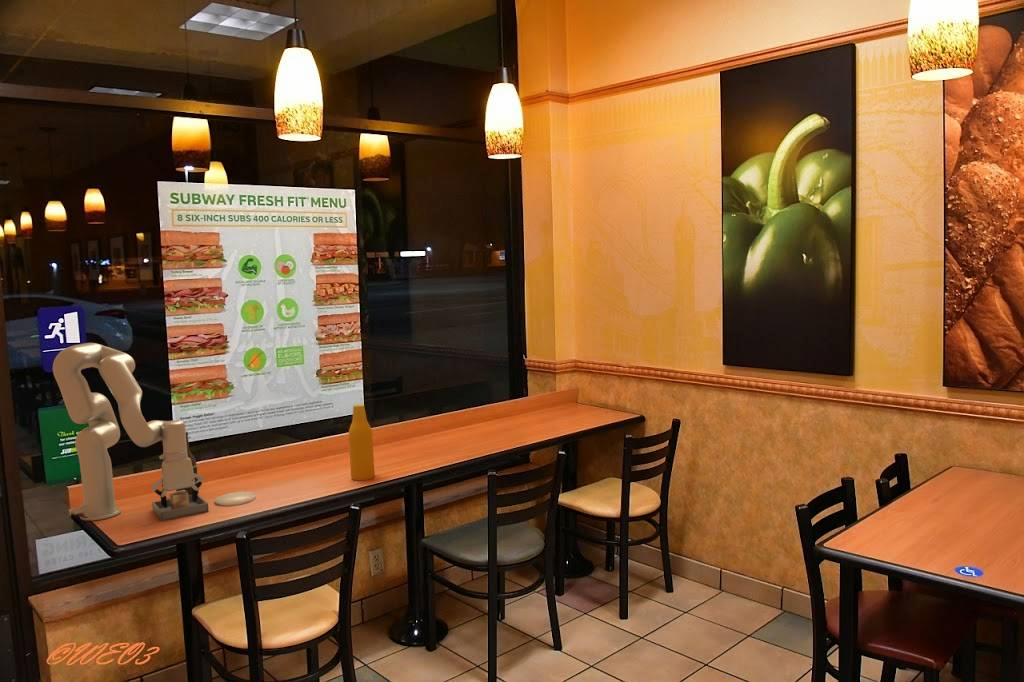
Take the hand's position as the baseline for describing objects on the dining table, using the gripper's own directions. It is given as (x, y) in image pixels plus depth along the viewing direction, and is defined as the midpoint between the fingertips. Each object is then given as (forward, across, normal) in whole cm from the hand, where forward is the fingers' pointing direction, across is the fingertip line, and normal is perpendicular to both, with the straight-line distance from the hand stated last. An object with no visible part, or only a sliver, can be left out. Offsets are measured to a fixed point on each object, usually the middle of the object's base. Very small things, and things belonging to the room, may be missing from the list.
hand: (179, 504), depth 270 cm
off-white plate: (+3, +19, 0) cm, 19 cm away
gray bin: (+2, 0, 0) cm, 2 cm away
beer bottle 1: (+3, +7, +20) cm, 21 cm away
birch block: (+2, 0, 0) cm, 2 cm away
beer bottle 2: (+3, +67, -5) cm, 67 cm away
